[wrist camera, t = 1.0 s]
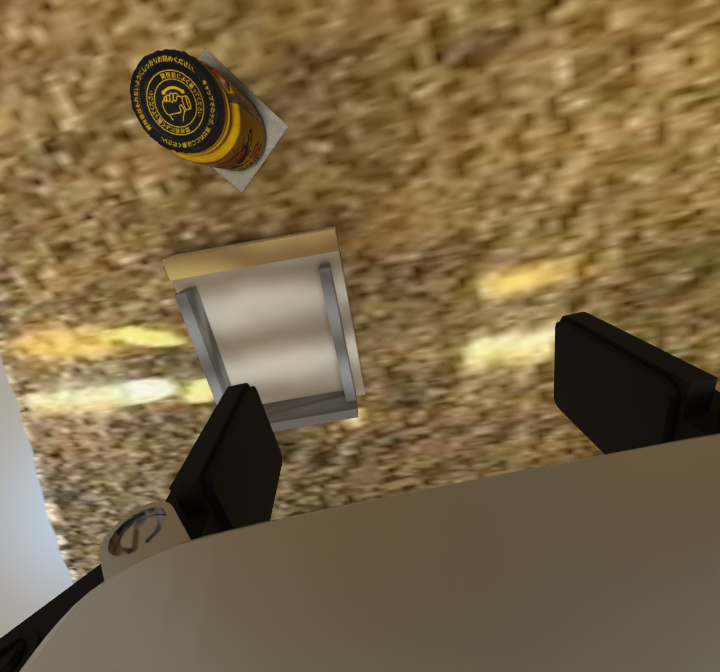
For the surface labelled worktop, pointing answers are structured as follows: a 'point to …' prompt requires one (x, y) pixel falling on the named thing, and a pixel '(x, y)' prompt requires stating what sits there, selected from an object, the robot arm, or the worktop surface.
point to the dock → (274, 324)
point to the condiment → (204, 113)
